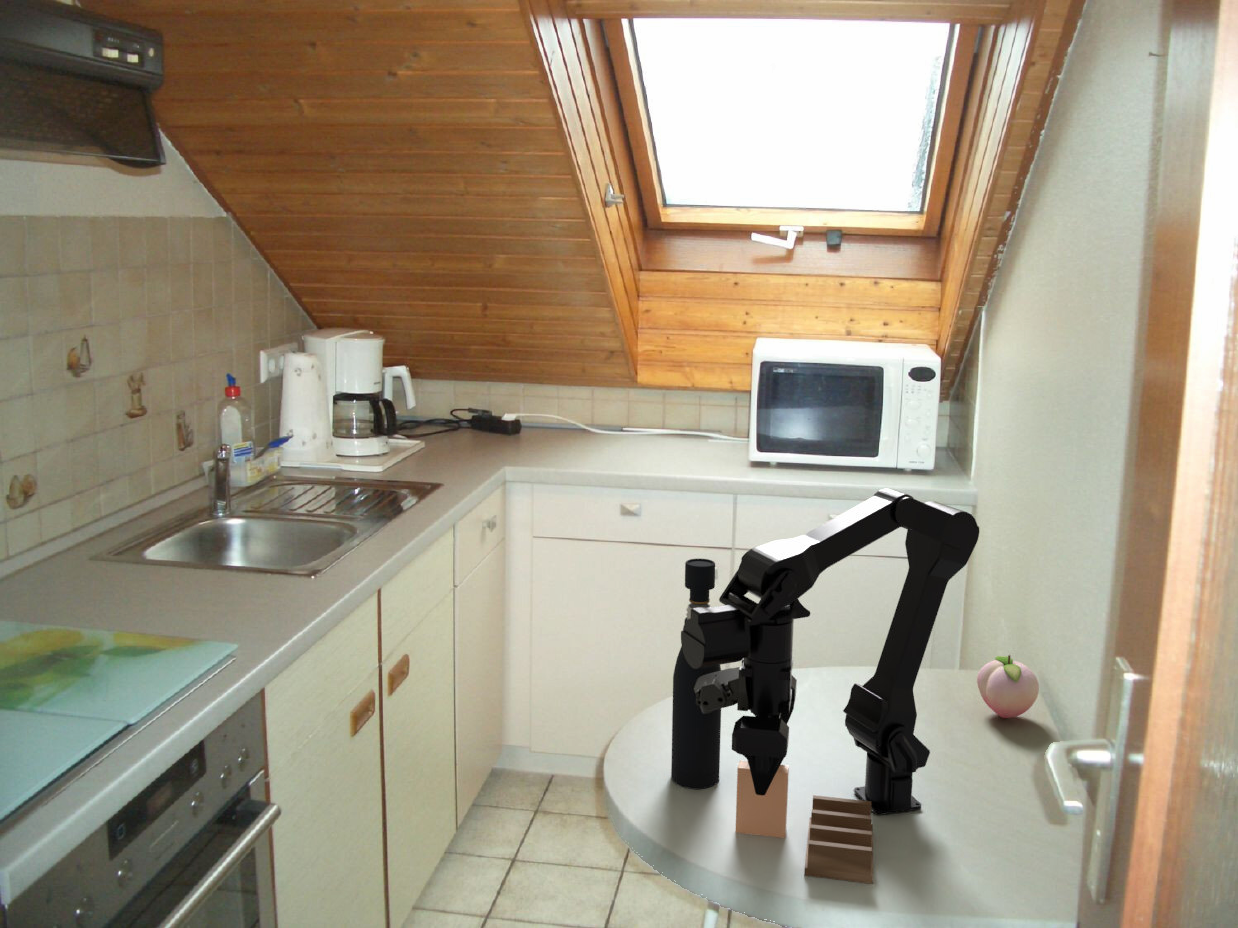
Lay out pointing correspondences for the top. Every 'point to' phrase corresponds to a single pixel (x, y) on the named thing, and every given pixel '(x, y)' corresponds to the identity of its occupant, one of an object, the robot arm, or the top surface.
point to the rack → (840, 840)
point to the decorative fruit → (1007, 686)
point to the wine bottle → (694, 700)
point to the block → (761, 804)
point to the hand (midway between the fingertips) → (763, 776)
